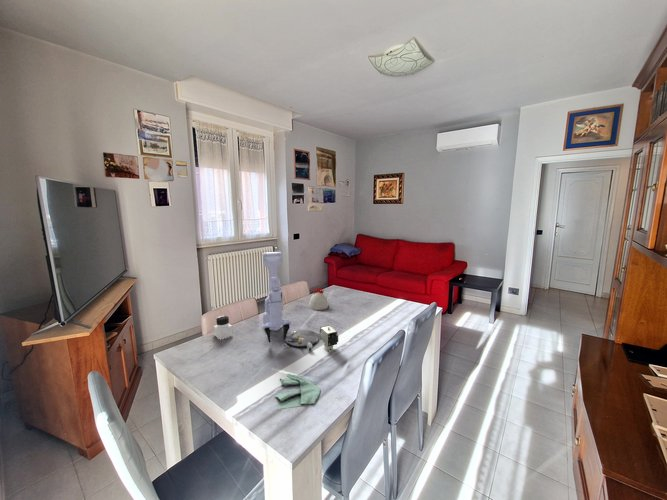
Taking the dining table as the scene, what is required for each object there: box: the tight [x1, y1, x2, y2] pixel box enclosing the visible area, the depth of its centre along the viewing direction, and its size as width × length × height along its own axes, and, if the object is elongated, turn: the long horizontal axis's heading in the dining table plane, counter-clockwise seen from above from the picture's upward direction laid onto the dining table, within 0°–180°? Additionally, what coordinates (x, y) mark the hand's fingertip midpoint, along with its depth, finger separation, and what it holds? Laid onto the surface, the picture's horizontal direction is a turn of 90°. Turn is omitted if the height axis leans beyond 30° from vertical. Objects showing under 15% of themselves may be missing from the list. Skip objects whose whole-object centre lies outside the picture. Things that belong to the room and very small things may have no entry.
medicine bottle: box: [213, 315, 234, 341], centre depth 148 cm, size 7×7×12 cm
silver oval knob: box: [306, 342, 312, 352], centre depth 135 cm, size 3×2×4 cm, turn 70°
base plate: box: [280, 333, 322, 352], centre depth 146 cm, size 19×19×1 cm
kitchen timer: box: [308, 287, 329, 311], centre depth 194 cm, size 14×14×15 cm
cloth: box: [275, 373, 321, 410], centre depth 107 cm, size 20×22×2 cm
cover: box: [289, 330, 300, 340], centre depth 144 cm, size 5×5×4 cm
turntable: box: [285, 329, 318, 347], centre depth 146 cm, size 17×17×4 cm
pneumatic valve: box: [319, 325, 339, 353], centre depth 135 cm, size 6×12×12 cm, turn 27°
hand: (277, 340), depth 140 cm, fingers open, 7 cm apart
